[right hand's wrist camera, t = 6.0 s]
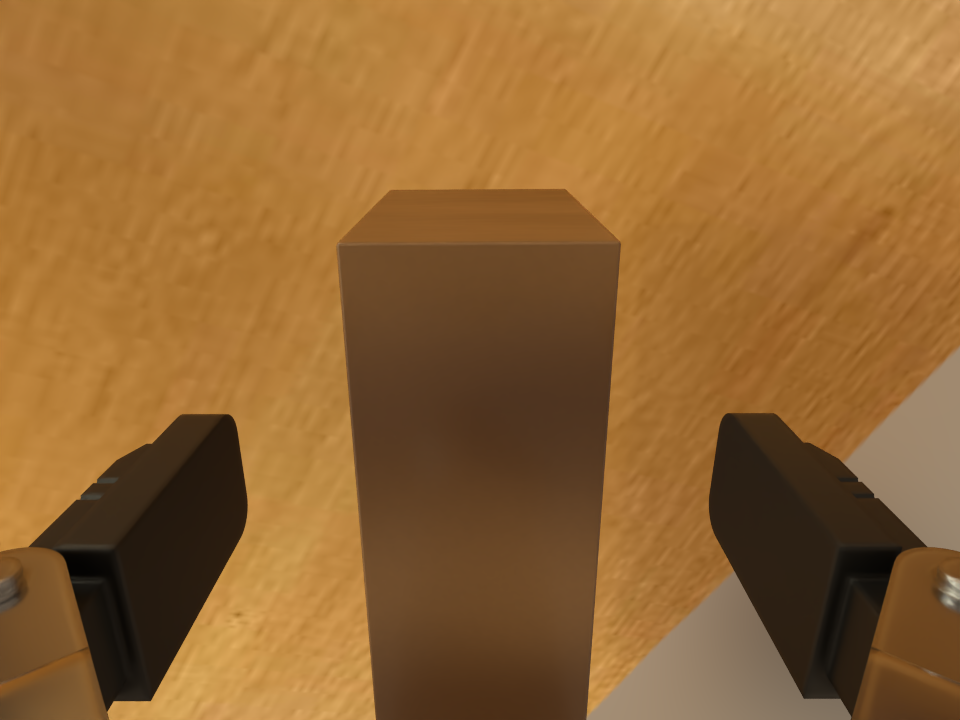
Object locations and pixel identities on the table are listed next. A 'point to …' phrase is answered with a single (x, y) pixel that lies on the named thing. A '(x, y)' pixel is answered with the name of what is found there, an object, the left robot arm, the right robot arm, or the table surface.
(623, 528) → the table surface
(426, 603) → the bar
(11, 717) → the right robot arm
